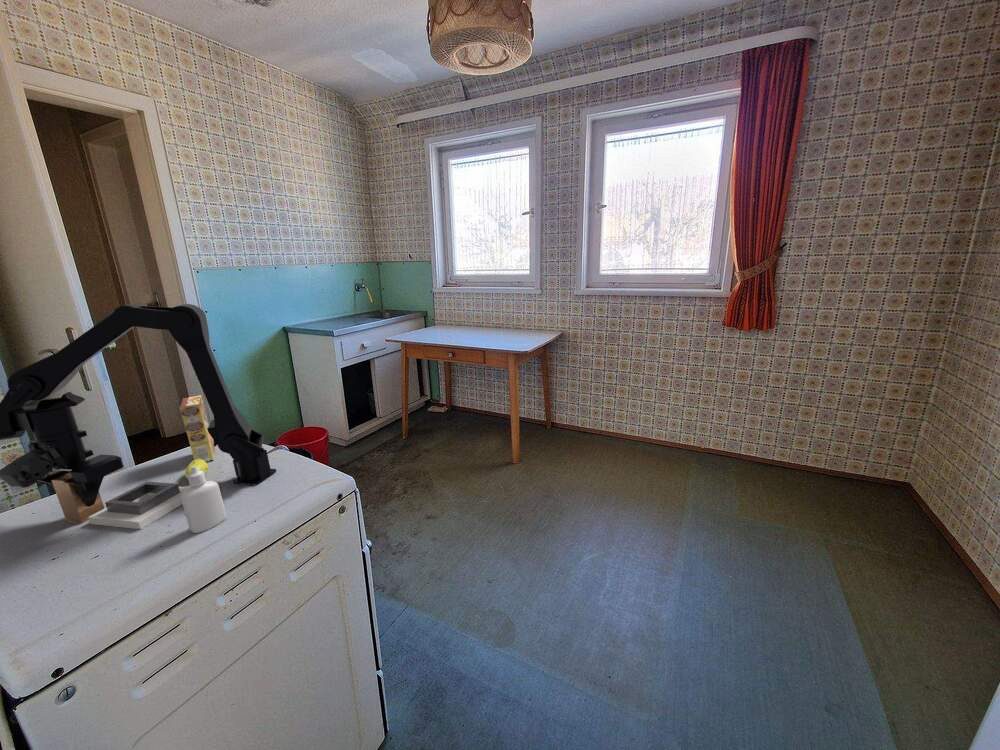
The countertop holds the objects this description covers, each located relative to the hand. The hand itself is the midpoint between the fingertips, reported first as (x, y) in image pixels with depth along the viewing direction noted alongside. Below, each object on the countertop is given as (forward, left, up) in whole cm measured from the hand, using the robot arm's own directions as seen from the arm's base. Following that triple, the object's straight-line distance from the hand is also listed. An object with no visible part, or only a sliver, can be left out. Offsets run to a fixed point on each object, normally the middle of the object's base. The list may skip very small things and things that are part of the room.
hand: (82, 504), depth 80 cm
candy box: (-1, -26, -3) cm, 26 cm away
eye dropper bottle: (-28, -1, -3) cm, 28 cm away
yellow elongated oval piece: (-9, -17, -3) cm, 19 cm away
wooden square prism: (0, 0, -2) cm, 2 cm away
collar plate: (-10, -4, -2) cm, 11 cm away
